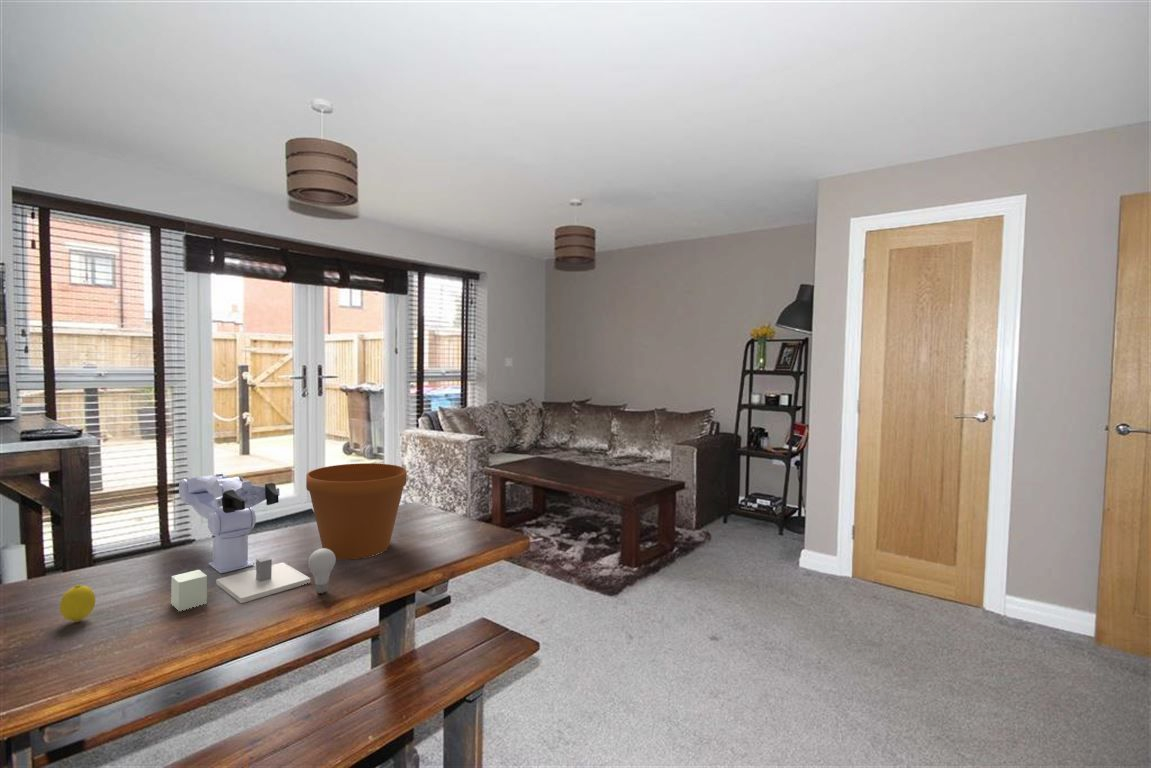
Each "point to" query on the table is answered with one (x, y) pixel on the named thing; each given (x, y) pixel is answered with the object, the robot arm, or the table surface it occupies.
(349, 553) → the flowerpot
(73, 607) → the lemon
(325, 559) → the lightbulb
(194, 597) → the pale green block
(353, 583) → the table surface
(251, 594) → the post board
